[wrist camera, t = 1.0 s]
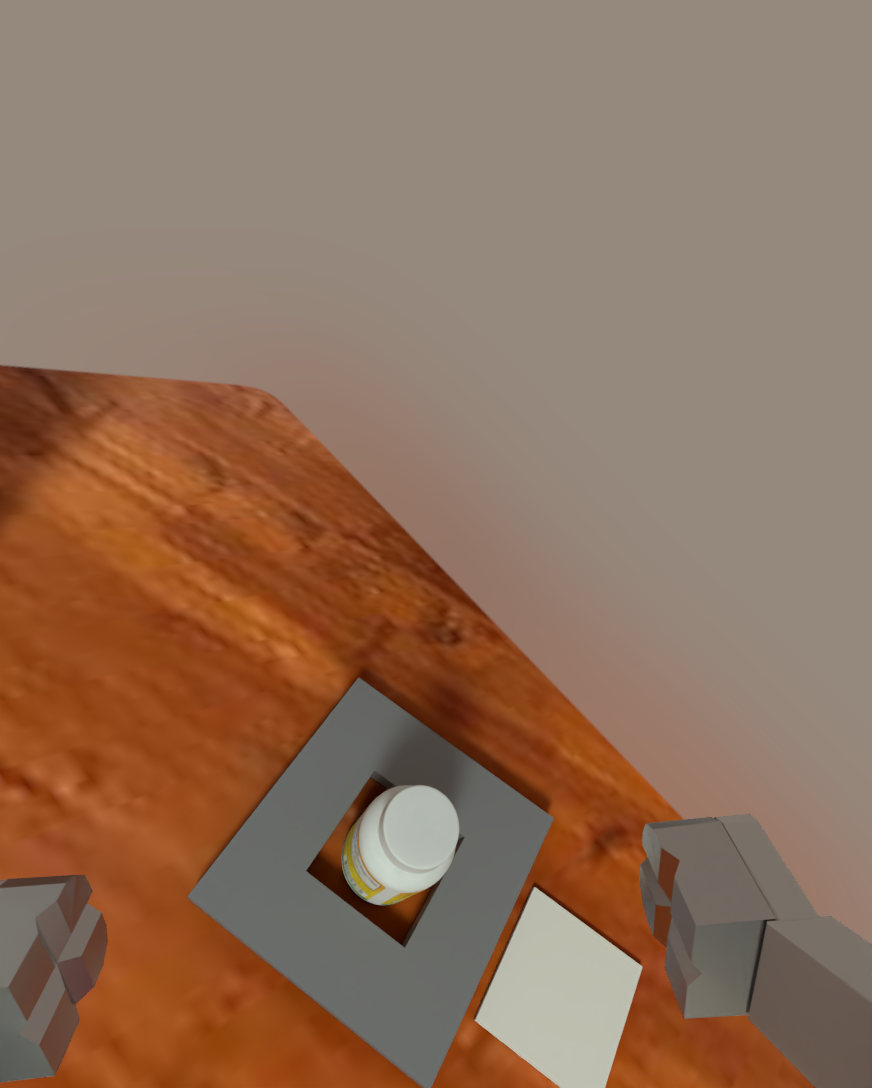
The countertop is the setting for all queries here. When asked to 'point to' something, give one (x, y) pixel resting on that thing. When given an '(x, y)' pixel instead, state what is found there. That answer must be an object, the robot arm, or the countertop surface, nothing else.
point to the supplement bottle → (400, 844)
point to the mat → (560, 995)
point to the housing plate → (341, 931)
